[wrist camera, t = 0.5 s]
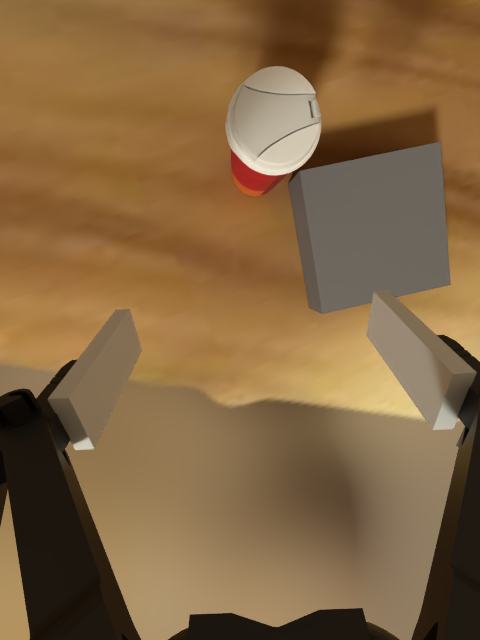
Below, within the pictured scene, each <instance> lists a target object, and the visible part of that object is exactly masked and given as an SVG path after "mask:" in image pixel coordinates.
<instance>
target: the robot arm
mask: <svg viewBox="0 0 480 640" xmlns="http://www.w3.org/2000/svg"><path fill="white" fill-rule="evenodd" d="M367 337H368V338H369V339H370V341H371V342H372V344H373V345H374V347H375V348H376V350H377V351H378V352H379V354H380V355H381V357H382V358H383V360H384V361H385V362H386V364H387V365H388V367H389V368H390V370H391V371H392V372H393V374H394V375H395V377H396V378H397V380H398V381H399V382H400V384H401V385H402V387H403V388H404V390H405V391H406V392H407V394H408V395H409V397H410V398H411V400H412V401H413V402H414V404H415V405H416V407H417V408H418V410H419V411H420V412H421V414H422V415H423V417H424V418H425V420H426V421H427V422H428V424H429V425H430V427H431V428H432V429H433V430H441V429H453V428H454V426H455V424H456V421H457V419H458V418H459V419H460V420H461V421H462V422H463V424H464V425H465V428H464V430H463V432H462V434H461V437H460V439H459V441H458V443H457V446H458V447H459V449H458V453H457V458H456V462H455V467H454V471H453V475H452V479H451V484H450V488H449V492H448V497H447V501H446V505H445V510H444V514H443V518H442V523H441V527H440V531H439V535H438V540H437V544H436V549H435V553H434V557H433V562H432V566H431V570H430V575H429V579H428V583H427V587H426V592H425V596H424V600H423V605H422V609H421V613H420V616H419V619H418V622H417V624H416V627H415V630H414V633H413V636H412V640H480V362H479V361H478V360H477V359H476V358H475V357H473V356H471V354H470V353H469V352H468V351H467V350H464V348H463V347H462V346H461V345H460V344H459V343H457V342H456V341H455V340H453V339H451V338H449V337H447V336H445V335H436V334H435V333H434V332H433V331H431V330H430V329H429V328H428V327H427V326H426V325H425V324H424V323H423V322H422V321H421V320H420V319H419V318H417V317H416V316H415V315H414V314H413V313H412V312H411V311H410V310H409V309H408V308H407V307H406V306H405V305H403V304H402V303H401V302H400V301H399V300H398V299H397V298H396V297H395V296H394V295H393V294H392V293H390V292H389V291H375V292H374V293H373V299H372V305H371V311H370V317H369V323H368V329H367ZM141 351H142V349H141V346H140V342H139V339H138V335H137V332H136V329H135V325H134V322H133V319H132V315H131V312H130V309H123V310H115V312H114V313H113V314H112V316H111V317H110V318H109V320H108V321H107V322H106V323H105V325H104V326H103V327H102V329H101V330H100V331H99V333H98V334H97V335H96V336H95V338H94V339H93V340H92V342H91V343H90V344H89V346H88V347H87V348H86V350H85V351H84V352H83V353H82V355H81V356H80V357H79V359H78V360H71V361H70V362H69V363H67V364H66V365H65V366H63V367H62V368H61V369H60V370H59V372H58V373H57V374H56V375H55V377H54V378H53V379H52V380H51V381H50V384H48V385H47V386H46V388H45V389H44V390H43V391H42V393H41V394H40V395H39V396H38V398H37V399H36V398H35V397H34V395H33V393H32V392H31V391H30V390H28V389H18V390H14V391H11V392H8V393H6V394H4V395H2V396H1V397H0V525H1V520H2V515H3V510H4V505H5V500H6V495H7V490H8V492H9V498H10V504H11V511H12V518H13V525H14V531H15V538H16V545H17V551H18V557H19V564H20V571H21V577H22V583H23V590H24V597H25V604H26V610H27V617H28V623H29V629H30V640H141V638H140V637H139V635H138V632H137V631H136V629H135V626H134V624H133V622H132V620H131V617H130V615H129V612H128V609H127V606H126V604H125V601H124V599H123V596H122V593H121V591H120V588H119V586H118V583H117V581H116V579H115V576H114V573H113V570H112V568H111V565H110V562H109V560H108V557H107V555H106V552H105V549H104V547H103V544H102V542H101V539H100V536H99V534H98V531H97V529H96V526H95V523H94V521H93V519H92V516H91V513H90V511H89V508H88V505H87V503H86V500H85V498H84V495H83V493H82V490H81V487H80V485H79V482H78V480H77V477H76V474H75V472H74V469H73V466H72V464H71V462H70V459H69V456H68V454H67V452H66V450H65V448H66V446H67V445H68V443H69V441H71V443H72V445H73V447H74V448H75V450H85V449H95V447H96V445H97V442H98V440H99V438H100V436H101V434H102V432H103V430H104V428H105V426H106V424H107V422H108V420H109V417H110V416H111V413H112V411H113V409H114V407H115V405H116V403H117V401H118V399H119V397H120V395H121V393H122V390H123V388H124V386H125V384H126V382H127V380H128V378H129V376H130V374H131V372H132V370H133V368H134V366H135V364H136V361H137V359H138V357H139V355H140V353H141ZM168 640H399V639H398V638H397V637H395V636H394V635H392V634H390V633H389V632H388V631H386V630H384V629H382V628H380V627H378V626H376V625H374V624H372V623H369V622H366V620H365V616H364V612H363V609H362V608H356V609H331V610H330V609H329V610H318V611H316V612H313V613H311V614H309V615H307V616H304V617H302V618H299V619H297V620H294V621H292V622H290V623H288V624H285V625H283V626H280V627H272V626H268V625H266V624H263V623H260V622H257V621H254V620H251V619H248V618H245V617H242V616H239V615H236V614H233V613H222V614H195V615H190V619H189V628H187V629H184V630H182V631H180V632H179V633H177V634H176V635H174V636H172V637H171V638H170V639H168Z"/></svg>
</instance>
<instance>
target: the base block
mask: <svg viewBox="0 0 480 640" xmlns="http://www.w3.org/2000/svg"><path fill="white" fill-rule="evenodd" d="M288 184H289V190H290V196H291V202H292V208H293V214H294V220H295V226H296V232H297V238H298V244H299V250H300V256H301V262H302V268H303V274H304V279H305V285H306V291H307V297H308V303H309V308H311V309H313V310H315V311H317V312H319V313H322V314H324V313H328V312H333V311H337V310H342V309H346V308H350V307H355V306H359V305H364V304H368V303H372V299H373V293H374V292H375V291H389V292H390V293H392V294H393V295H394V296H395V297H399V296H403V295H408V294H412V293H417V292H421V291H425V290H430V289H434V288H439V287H443V286H447V285H451V284H450V270H449V256H448V241H447V227H446V213H445V199H444V184H443V170H442V156H441V142H437V143H432V144H427V145H422V146H417V147H412V148H408V149H403V150H398V151H393V152H388V153H383V154H379V155H374V156H369V157H364V158H359V159H354V160H350V161H345V162H340V163H335V164H330V165H325V166H321V167H316V168H311V169H306V170H301V171H299V172H298V173H297V174H296V175H295V177H294V178H293V179H292V180H291V181H290V182H289V183H288Z"/></svg>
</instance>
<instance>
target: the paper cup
mask: <svg viewBox="0 0 480 640" xmlns="http://www.w3.org/2000/svg"><path fill="white" fill-rule="evenodd" d="M315 94H316V92H315V91H314V89H313V87H312V85H311V84H310V83H309V82H308V80H307V79H306V78H305V77H304V76H302V75H301V74H300V73H298V72H297V71H295V70H292V69H290V68H287V67H282V66H273V67H267V68H264V69H261V70H259V71H257V72H255V73H254V74H252V75H251V76H250V77H248V78H247V79H246V80H244V81H243V82H242V84H241V85H240V86H239V87H238V88H237V90H236V91H235V93H234V95H233V97H232V99H231V101H230V104H229V108H228V113H227V119H226V124H225V129H226V135H227V139H228V142H229V145H230V147H231V169H232V177H233V181H234V183H235V185H236V187H237V188H238V189H239V190H240V191H241V192H242V193H244V194H246V195H248V196H254V197H255V196H261V195H264V194H266V193H267V192H269V191H270V190H271V189H272V188H273V187H274V186H276V185H277V184H278V183H279V182H280V181H281V180H282V179H283V178H284V177H285V176H286V175H287V174H288V173H290V172H292V171H294V170H296V169H298V168H299V167H301V166H302V165H303V164H304V163H305V162H306V161H307V160H308V159H309V158H310V156H311V155H312V154H313V152H314V150H315V148H316V146H317V144H318V141H319V138H320V133H321V113H320V108H319V105H318V102H317V99H316V97H315Z"/></svg>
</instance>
